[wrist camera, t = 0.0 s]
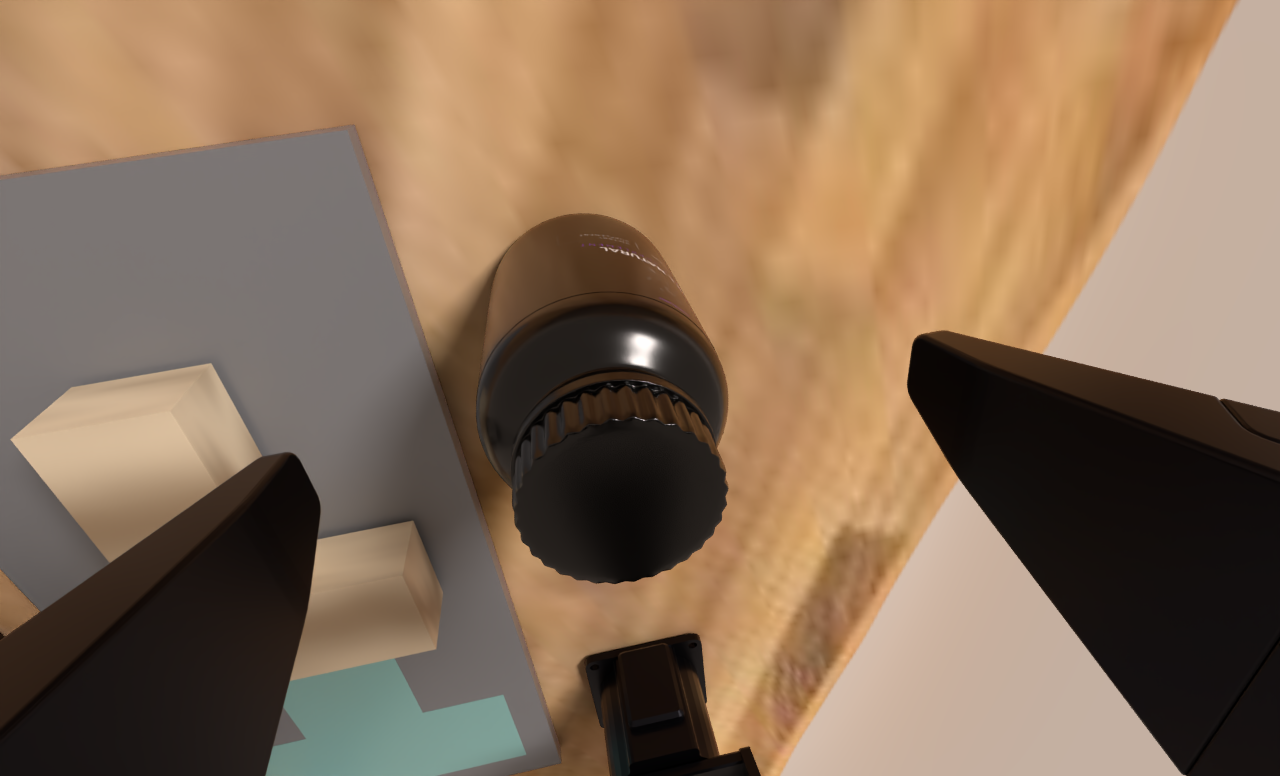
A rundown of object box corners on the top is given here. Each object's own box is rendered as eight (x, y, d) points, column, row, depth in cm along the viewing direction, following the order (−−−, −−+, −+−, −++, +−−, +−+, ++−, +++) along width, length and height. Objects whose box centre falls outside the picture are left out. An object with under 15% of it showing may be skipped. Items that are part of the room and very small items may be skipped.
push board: (560, 746, 39) (561, 763, 38) (258, 817, 37) (252, 836, 36) (354, 124, 20) (346, 129, 19) (-284, 216, 18) (-324, 227, 17)
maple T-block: (443, 587, 29) (436, 649, 26) (147, 649, 28) (106, 720, 25) (340, 337, 22) (315, 385, 19) (-59, 406, 21) (-147, 467, 18)
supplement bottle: (667, 198, 22) (793, 354, 12) (671, 364, 26) (770, 592, 16) (472, 216, 22) (433, 399, 11) (503, 385, 25) (495, 639, 15)
